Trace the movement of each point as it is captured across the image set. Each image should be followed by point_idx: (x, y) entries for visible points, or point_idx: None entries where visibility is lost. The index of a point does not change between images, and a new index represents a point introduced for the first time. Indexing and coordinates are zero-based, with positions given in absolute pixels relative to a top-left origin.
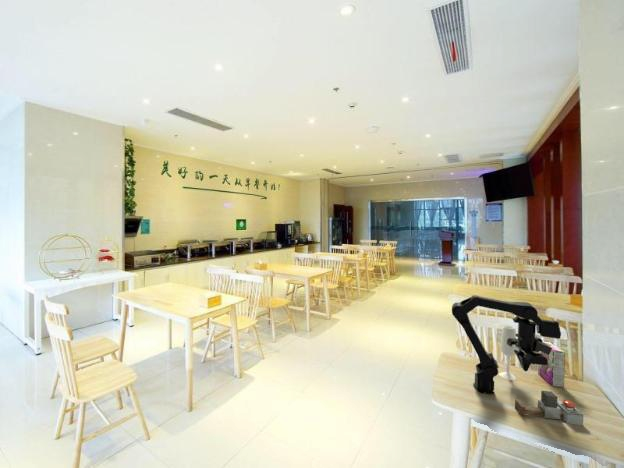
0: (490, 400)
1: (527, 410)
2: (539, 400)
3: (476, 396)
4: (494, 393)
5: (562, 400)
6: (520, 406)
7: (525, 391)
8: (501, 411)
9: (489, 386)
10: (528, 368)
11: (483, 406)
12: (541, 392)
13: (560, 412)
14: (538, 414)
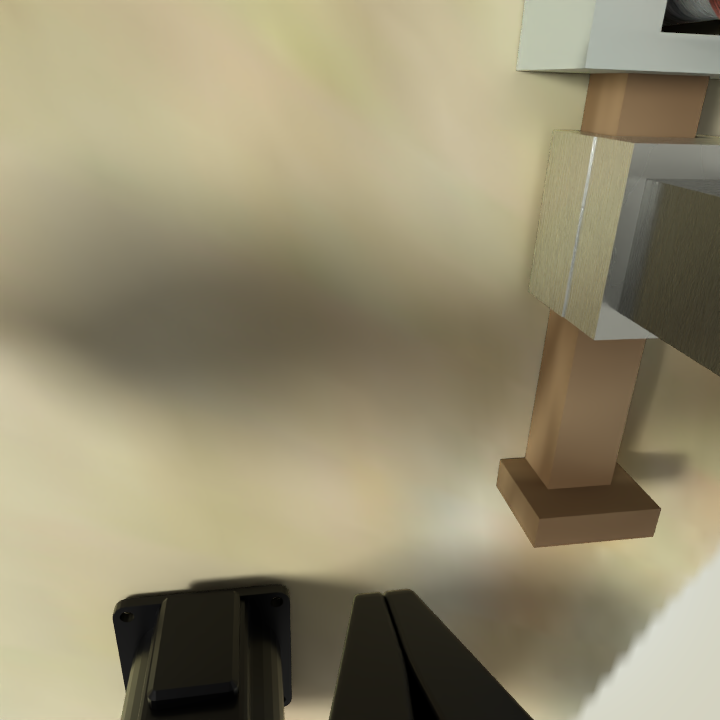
0: None
1: (615, 446)
2: (615, 332)
3: None
4: (284, 591)
5: None
6: (631, 531)
7: (93, 208)
8: (546, 596)
9: (273, 682)
10: (468, 655)
11: None
12: (700, 361)
13: (682, 92)
14: None
